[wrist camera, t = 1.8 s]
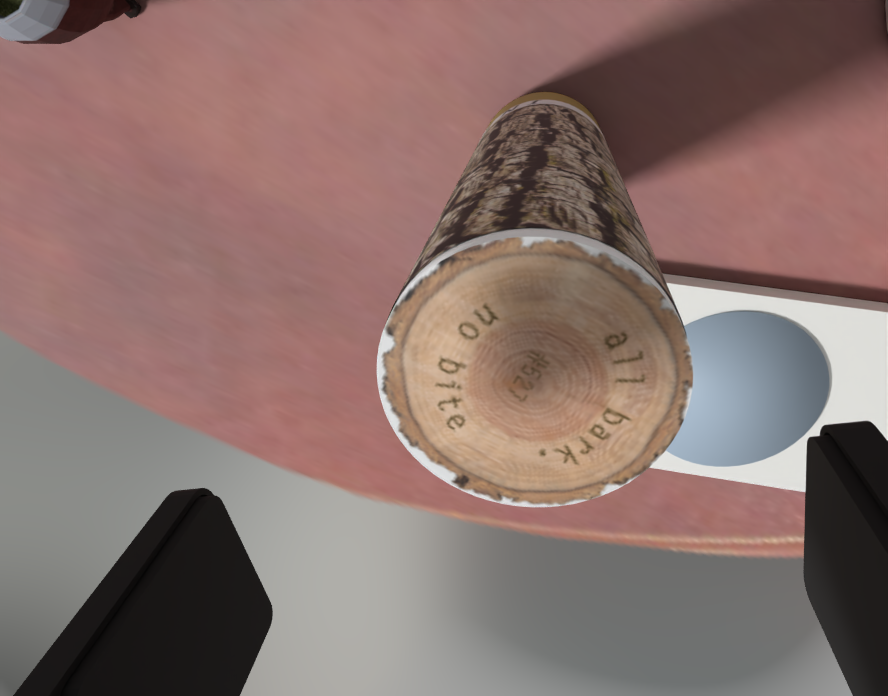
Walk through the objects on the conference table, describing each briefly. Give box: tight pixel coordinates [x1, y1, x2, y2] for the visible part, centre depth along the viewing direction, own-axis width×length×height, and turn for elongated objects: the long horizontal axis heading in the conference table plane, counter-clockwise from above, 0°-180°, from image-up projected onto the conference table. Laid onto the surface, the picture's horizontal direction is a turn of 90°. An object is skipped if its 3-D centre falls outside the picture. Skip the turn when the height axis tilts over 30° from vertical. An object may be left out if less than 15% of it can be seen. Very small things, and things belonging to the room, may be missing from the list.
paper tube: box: [377, 92, 693, 507], centre depth 25 cm, size 7×7×25 cm
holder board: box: [650, 273, 888, 492], centre depth 40 cm, size 20×13×2 cm, turn 85°
